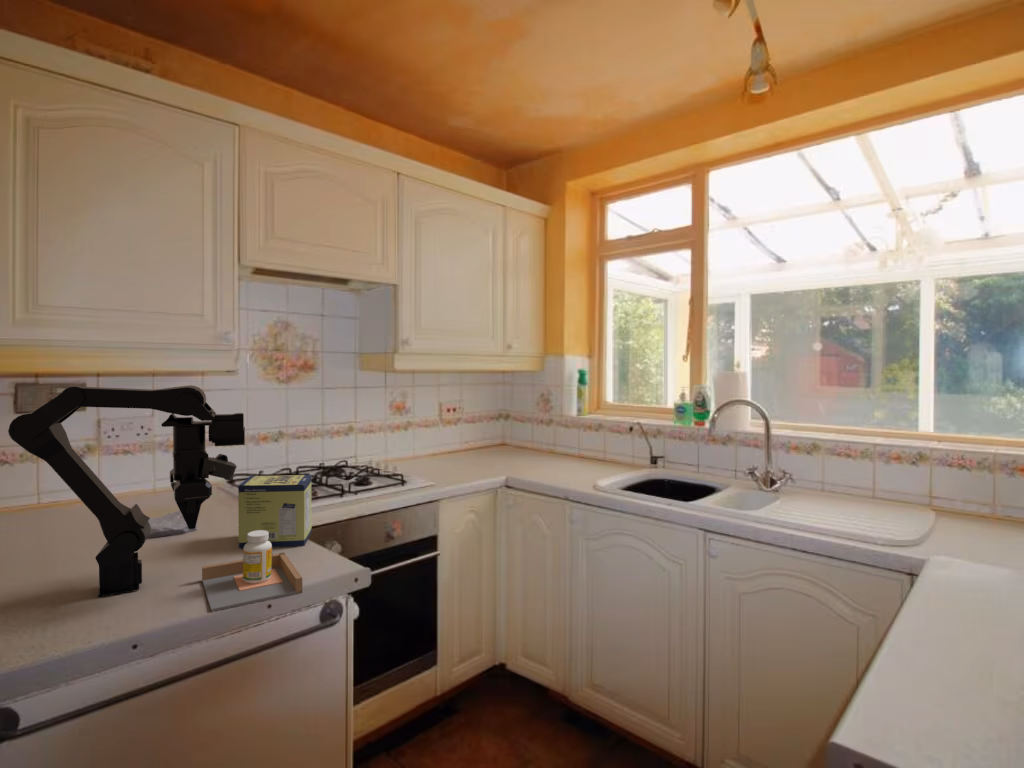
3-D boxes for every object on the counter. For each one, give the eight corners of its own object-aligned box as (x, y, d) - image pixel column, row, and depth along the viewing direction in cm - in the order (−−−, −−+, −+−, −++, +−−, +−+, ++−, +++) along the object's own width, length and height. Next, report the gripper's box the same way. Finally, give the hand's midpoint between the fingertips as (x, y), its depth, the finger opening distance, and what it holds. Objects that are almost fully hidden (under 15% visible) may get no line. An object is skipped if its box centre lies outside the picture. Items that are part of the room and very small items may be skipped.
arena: (211, 611, 101) (211, 595, 101) (202, 580, 114) (202, 566, 114) (302, 592, 110) (302, 577, 110) (284, 565, 123) (284, 552, 123)
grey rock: (200, 537, 145) (188, 521, 152) (201, 520, 144) (189, 505, 151) (147, 549, 137) (137, 532, 143) (147, 532, 135) (137, 515, 142)
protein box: (249, 534, 143) (249, 475, 142) (312, 532, 146) (312, 474, 145) (236, 549, 132) (236, 485, 131) (305, 546, 135) (305, 483, 134)
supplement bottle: (250, 586, 110) (250, 539, 110) (238, 579, 114) (238, 533, 113) (276, 578, 114) (276, 533, 114) (263, 571, 118) (264, 527, 117)
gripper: (240, 451, 110) (240, 528, 111) (227, 438, 125) (227, 506, 126) (174, 456, 103) (175, 538, 104) (169, 441, 119) (169, 513, 120)
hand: (190, 522), depth 114 cm, fingers open, 9 cm apart
